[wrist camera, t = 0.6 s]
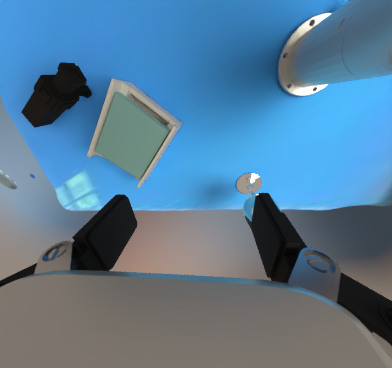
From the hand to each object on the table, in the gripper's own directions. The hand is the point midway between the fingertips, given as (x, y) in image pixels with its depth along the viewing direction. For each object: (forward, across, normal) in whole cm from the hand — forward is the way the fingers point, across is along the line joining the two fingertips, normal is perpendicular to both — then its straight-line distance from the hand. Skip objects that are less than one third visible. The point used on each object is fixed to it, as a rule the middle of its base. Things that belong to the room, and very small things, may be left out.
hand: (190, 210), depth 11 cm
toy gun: (+33, +35, -10) cm, 49 cm away
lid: (+28, +18, 0) cm, 33 cm away
